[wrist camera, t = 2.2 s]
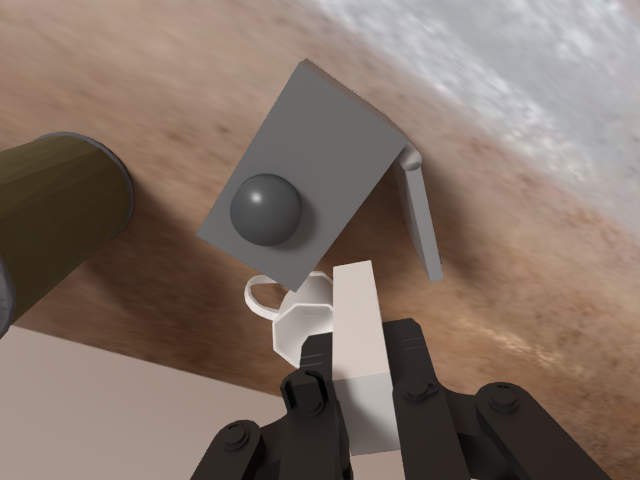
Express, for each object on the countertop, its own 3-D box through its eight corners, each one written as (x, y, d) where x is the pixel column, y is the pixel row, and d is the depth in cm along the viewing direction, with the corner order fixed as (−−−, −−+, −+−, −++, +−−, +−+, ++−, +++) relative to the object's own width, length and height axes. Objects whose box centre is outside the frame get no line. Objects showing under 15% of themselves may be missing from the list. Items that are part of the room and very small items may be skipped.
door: (406, 235, 40) (427, 283, 32) (381, 129, 37) (398, 153, 28) (422, 230, 40) (447, 278, 32) (399, 124, 36) (421, 147, 28)
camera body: (228, 188, 40) (189, 244, 28) (306, 58, 35) (297, 63, 24) (306, 235, 42) (299, 307, 30) (390, 118, 37) (418, 149, 26)
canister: (97, 114, 37) (-123, 177, 19) (155, 222, 41) (19, 362, 23) (-10, 156, 39) (-309, 253, 21) (56, 256, 43) (-146, 413, 24)
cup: (332, 327, 46) (333, 381, 38) (241, 294, 44) (224, 344, 37) (361, 272, 43) (368, 319, 36) (265, 235, 42) (252, 276, 34)
